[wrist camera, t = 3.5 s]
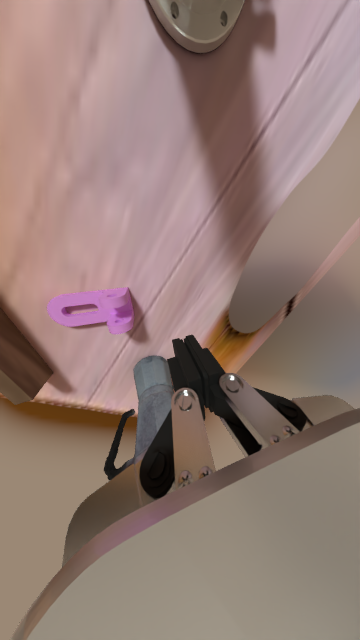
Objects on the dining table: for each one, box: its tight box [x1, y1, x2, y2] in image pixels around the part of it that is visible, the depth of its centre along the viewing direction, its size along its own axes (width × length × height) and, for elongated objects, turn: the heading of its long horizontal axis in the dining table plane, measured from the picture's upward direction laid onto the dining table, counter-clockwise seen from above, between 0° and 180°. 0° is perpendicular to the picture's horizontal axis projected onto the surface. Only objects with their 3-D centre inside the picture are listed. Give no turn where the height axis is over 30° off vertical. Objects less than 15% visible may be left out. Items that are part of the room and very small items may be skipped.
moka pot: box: [104, 356, 174, 480], centre depth 25 cm, size 10×15×20 cm, turn 105°
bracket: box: [47, 287, 134, 334], centre depth 21 cm, size 13×6×7 cm, turn 93°
